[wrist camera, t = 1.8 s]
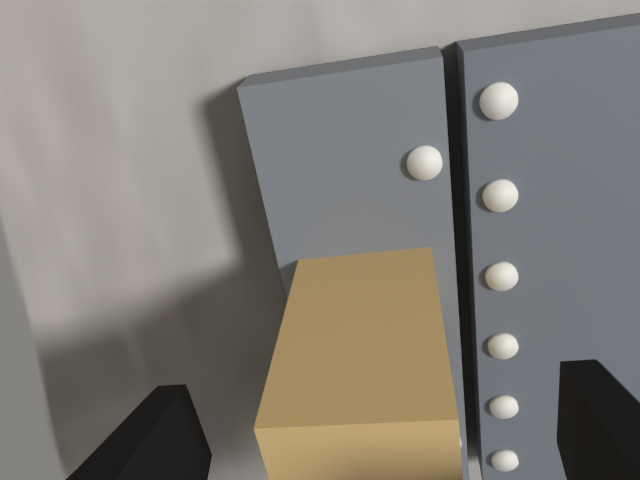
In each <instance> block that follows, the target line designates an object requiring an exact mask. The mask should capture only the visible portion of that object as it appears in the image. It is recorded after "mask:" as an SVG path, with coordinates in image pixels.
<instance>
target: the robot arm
mask: <svg viewBox="0 0 640 480" xmlns="http://www.w3.org/2000/svg"><path fill="white" fill-rule="evenodd" d="M557 445H558V449H559V453H560V456H561V460H562V464H563V468H564V471H565V475H566V478H567V480H640V402H639V401H638V400H637V399H636V398H635V397H634V396H633V395H632V394H631V393H630V392H629V391H628V390H627V389H626V388H625V387H624V386H623V385H622V384H621V383H620V382H619V381H618V380H617V379H616V378H615V377H614V376H613V375H612V374H611V373H610V372H609V371H608V370H607V369H606V368H605V367H604V366H603V365H602V364H601V363H600V362H599V361H598V360H596V359H591V360H575V361H560V376H559V398H558V420H557ZM211 457H212V454H211V451H210V448H209V446H208V443H207V440H206V438H205V435H204V432H203V429H202V427H201V424H200V421H199V419H198V416H197V413H196V410H195V408H194V405H193V402H192V400H191V397H190V394H189V391H188V389H187V386H186V384H184V385H167V386H158V387H156V388H155V389H154V390H153V391H152V392H151V393H150V394H149V395H148V396H147V397H146V398H145V399H144V400H143V401H142V402H141V403H140V404H139V406H138V407H137V408H136V409H135V410H134V411H133V412H132V413H131V414H130V415H129V416H128V417H127V418H126V419H125V420H124V421H123V422H122V423H121V424H120V425H119V426H118V427H117V429H116V430H115V431H114V432H113V433H112V434H111V435H110V436H109V437H108V438H107V439H106V440H105V441H104V442H103V443H102V444H101V445H100V446H99V447H98V448H97V449H96V450H95V451H94V452H93V453H92V454H91V455H90V456H89V457H88V458H87V459H86V460H85V461H84V462H83V463H82V465H81V466H80V467H79V468H78V469H77V470H76V471H75V472H73V473H72V474H71V475H70V476H69V477H68V478H67V479H66V480H207V479H208V473H209V468H210V462H211Z"/></svg>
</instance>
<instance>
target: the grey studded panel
mask: <svg viewBox="0 0 640 480" xmlns="http://www.w3.org/2000/svg"><path fill="white" fill-rule="evenodd" d="M456 46H457V66H458V86H459V106H460V126H461V145H462V165H463V185H464V205H465V225H466V245H467V265H468V285H469V305H470V325H471V344H472V364H473V384H474V404H475V424H476V444H477V453H478V459H479V464H480V470H481V475H482V480H567V478H566V475H565V471H564V468H563V464H562V460H561V456H560V453H559V449H558V445H557V420H558V398H559V376H560V361H575V360H591V359H596V360H598V361H599V362H600V363H601V364H602V365H603V366H604V367H605V368H606V369H607V370H608V371H609V372H610V373H611V374H612V375H613V376H614V377H615V378H616V379H617V380H618V381H619V382H620V383H621V384H622V385H623V386H624V387H625V388H626V389H627V390H628V391H629V392H630V393H631V394H632V395H633V396H634V397H635V398H636V399H637V400H638V401H639V402H640V13H636V14H630V15H623V16H617V17H610V18H604V19H598V20H591V21H585V22H578V23H572V24H565V25H559V26H552V27H546V28H539V29H533V30H527V31H520V32H514V33H507V34H501V35H494V36H488V37H481V38H475V39H468V40H462V41H456Z"/></svg>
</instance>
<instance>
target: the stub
mask: <svg viewBox="0 0 640 480" xmlns="http://www.w3.org/2000/svg"><path fill="white" fill-rule="evenodd" d="M237 92H238V96H239V100H240V105H241V109H242V113H243V118H244V122H245V126H246V130H247V135H248V139H249V143H250V147H251V152H252V156H253V160H254V165H255V169H256V173H257V177H258V182H259V186H260V190H261V195H262V199H263V203H264V207H265V212H266V216H267V220H268V224H269V229H270V233H271V237H272V242H273V246H274V250H275V254H276V259H277V263H278V267H279V272H280V276H281V280H282V284H283V289H284V293H285V297H286V301H287V304H286V308H285V312H284V316H283V320H282V323H281V327H280V331H279V335H278V338H277V342H276V346H275V350H274V353H273V357H272V361H271V365H270V369H269V372H268V376H267V380H266V384H265V387H264V391H263V395H262V399H261V403H260V406H259V410H258V414H257V418H256V421H255V425H254V432H255V435H256V438H257V442H258V445H259V448H260V452H261V455H262V458H263V461H264V465H265V468H266V471H267V474H268V478H269V480H469V471H468V455H467V438H466V422H465V406H464V390H463V373H462V357H461V341H460V325H459V308H458V292H457V276H456V260H455V243H454V227H453V211H452V195H451V178H450V162H449V146H448V130H447V114H446V97H445V81H444V65H443V56H442V54H441V52H440V50H439V48H438V46H435V47H428V48H422V49H415V50H409V51H402V52H396V53H389V54H383V55H376V56H370V57H363V58H357V59H350V60H344V61H337V62H331V63H324V64H318V65H312V66H305V67H299V68H292V69H286V70H279V71H273V72H266V73H260V74H253V75H249V76H248V77H247V78H246V79H245V80H244V81H243V82H242V83H241V84H240V85H239V86H238V87H237Z"/></svg>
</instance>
